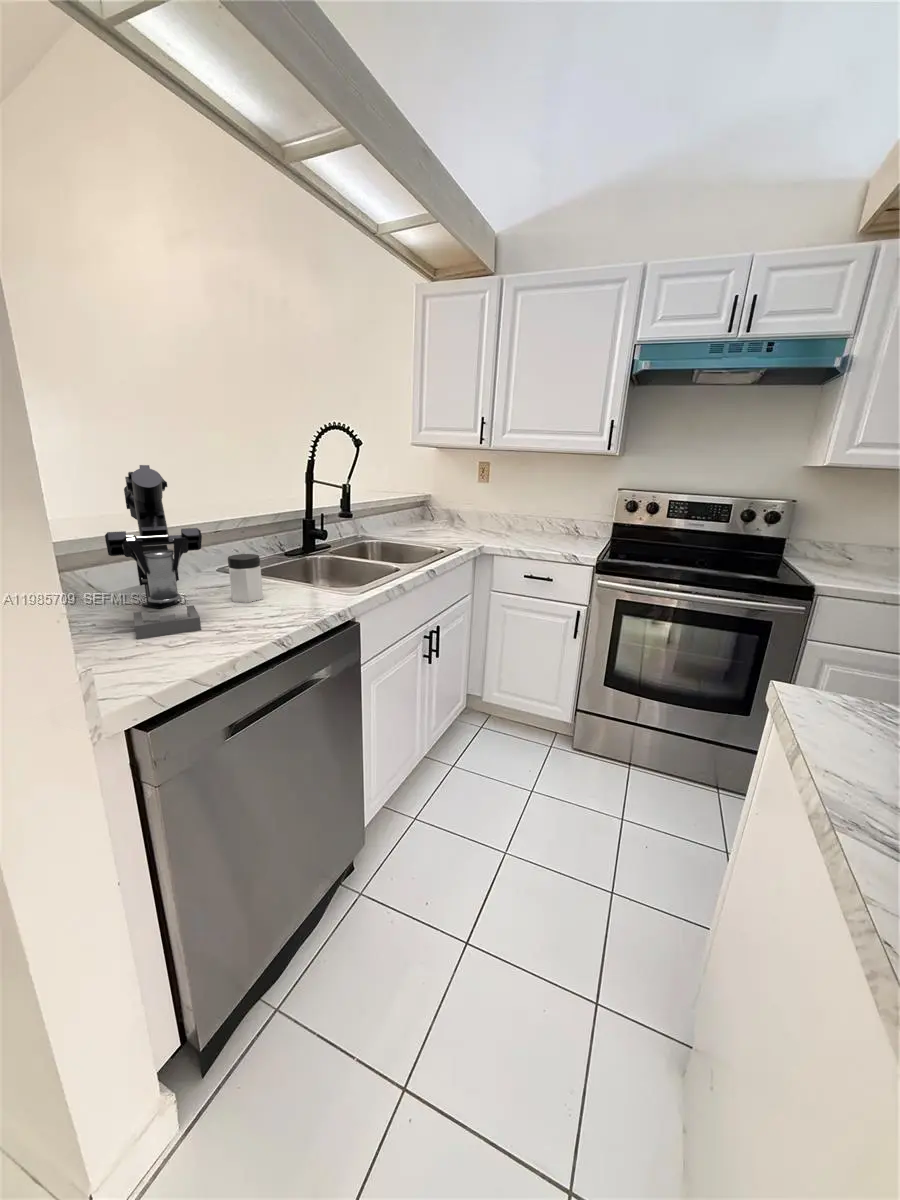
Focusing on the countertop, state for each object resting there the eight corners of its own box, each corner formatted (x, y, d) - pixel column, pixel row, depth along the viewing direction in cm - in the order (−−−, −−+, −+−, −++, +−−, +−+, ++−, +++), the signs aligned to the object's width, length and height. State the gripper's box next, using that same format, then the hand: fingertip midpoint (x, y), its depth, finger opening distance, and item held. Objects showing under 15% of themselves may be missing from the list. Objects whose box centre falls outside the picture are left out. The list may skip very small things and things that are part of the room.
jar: (264, 601, 137) (261, 558, 133) (232, 604, 133) (228, 560, 130) (261, 593, 144) (257, 552, 141) (231, 596, 141) (226, 554, 138)
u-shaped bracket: (135, 624, 116) (132, 606, 115) (195, 616, 122) (193, 599, 121) (136, 639, 107) (133, 620, 106) (201, 629, 114) (198, 611, 112)
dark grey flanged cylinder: (142, 600, 112) (134, 552, 109) (169, 593, 117) (162, 547, 114) (160, 604, 109) (153, 556, 106) (186, 597, 115) (180, 551, 111)
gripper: (194, 534, 127) (205, 586, 121) (106, 538, 117) (115, 595, 111) (195, 506, 118) (207, 561, 113) (101, 509, 108) (109, 569, 103)
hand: (161, 572), depth 110 cm, fingers closed on dark grey flanged cylinder, 5 cm apart
